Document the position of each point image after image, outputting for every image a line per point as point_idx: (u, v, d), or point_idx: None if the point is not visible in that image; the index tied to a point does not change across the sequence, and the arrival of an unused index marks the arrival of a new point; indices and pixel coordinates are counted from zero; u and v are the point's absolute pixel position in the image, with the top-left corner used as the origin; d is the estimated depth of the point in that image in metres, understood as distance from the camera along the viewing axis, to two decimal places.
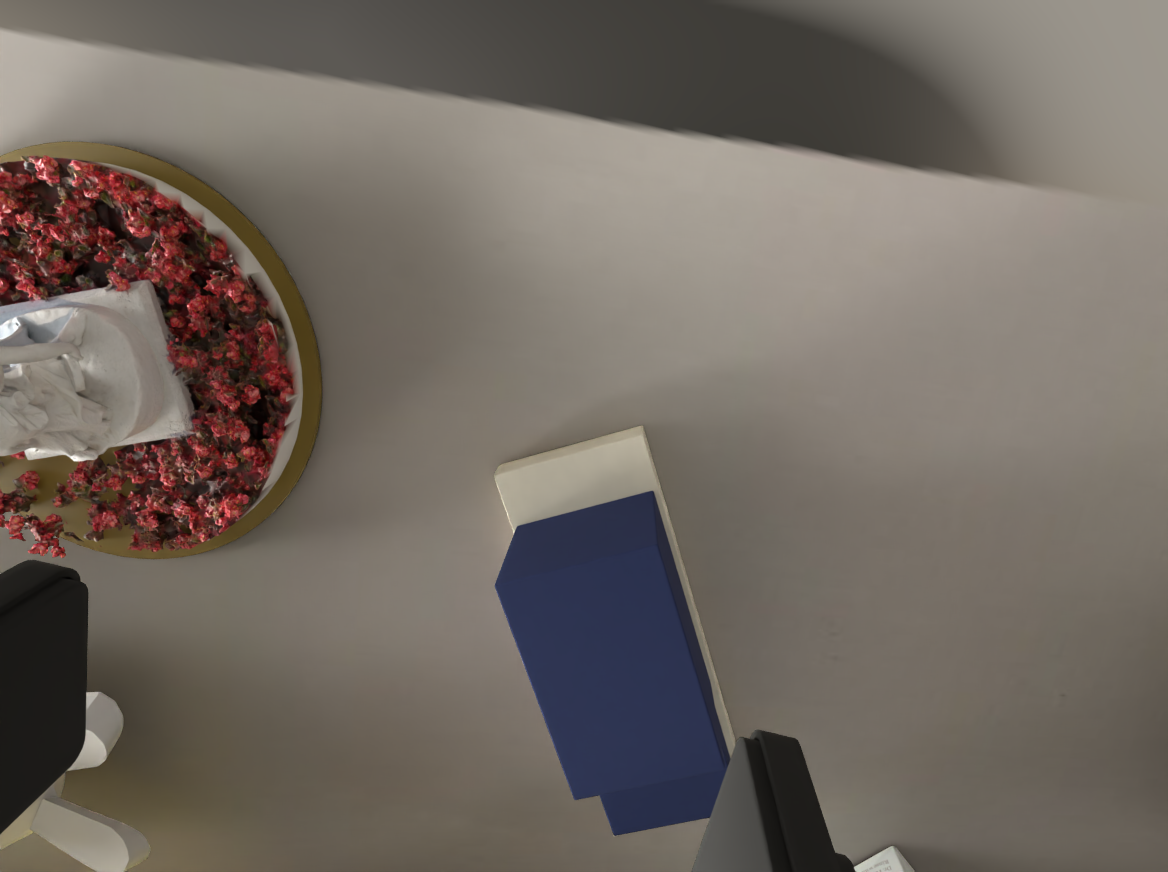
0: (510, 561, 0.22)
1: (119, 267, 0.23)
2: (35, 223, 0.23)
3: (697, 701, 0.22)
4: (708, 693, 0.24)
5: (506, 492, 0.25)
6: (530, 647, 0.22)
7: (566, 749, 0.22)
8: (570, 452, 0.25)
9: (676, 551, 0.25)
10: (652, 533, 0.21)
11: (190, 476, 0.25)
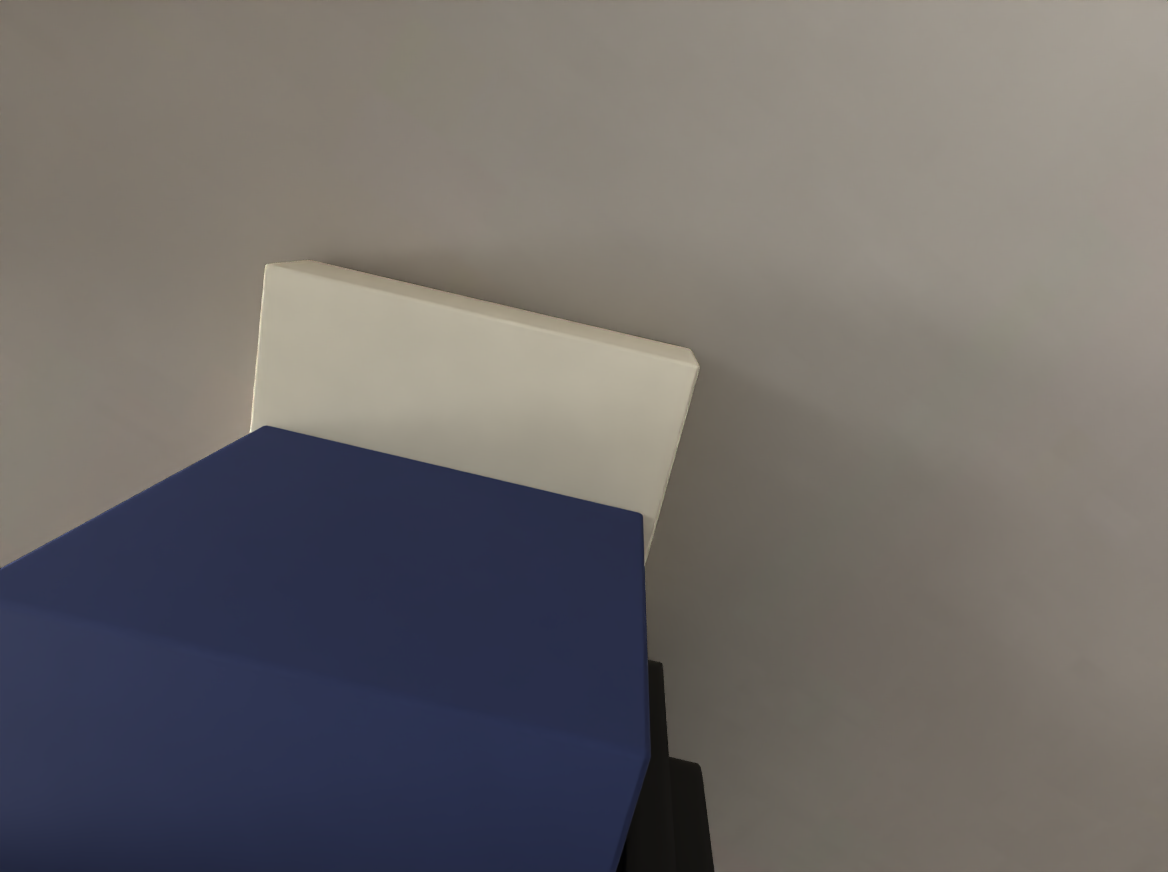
0: (129, 519, 0.06)
1: None
2: None
3: None
4: None
5: (278, 326, 0.09)
6: (12, 852, 0.06)
7: None
8: (494, 314, 0.09)
9: None
10: (632, 678, 0.06)
11: None
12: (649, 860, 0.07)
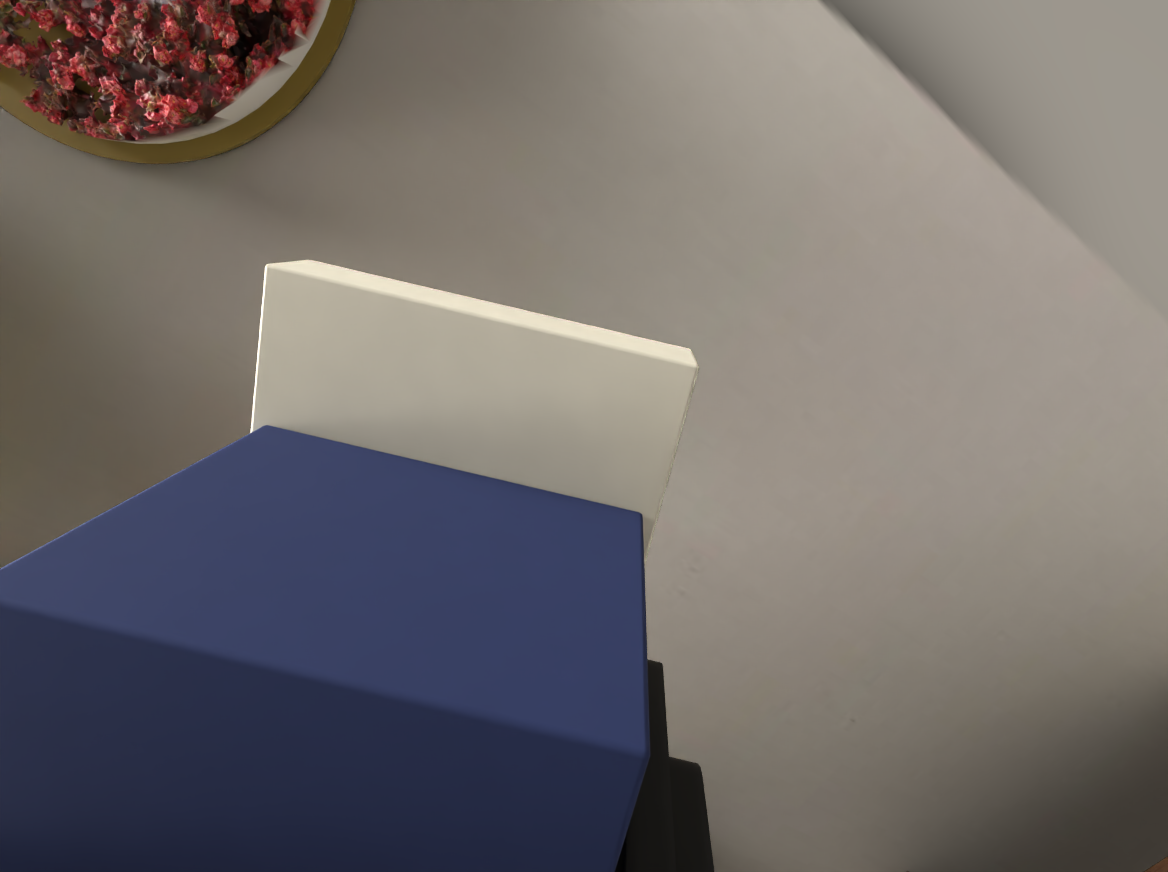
0: (130, 519, 0.06)
1: None
2: None
3: None
4: None
5: (279, 326, 0.09)
6: (14, 850, 0.06)
7: None
8: (495, 315, 0.09)
9: None
10: (632, 676, 0.06)
11: (141, 52, 0.21)
12: (649, 860, 0.07)
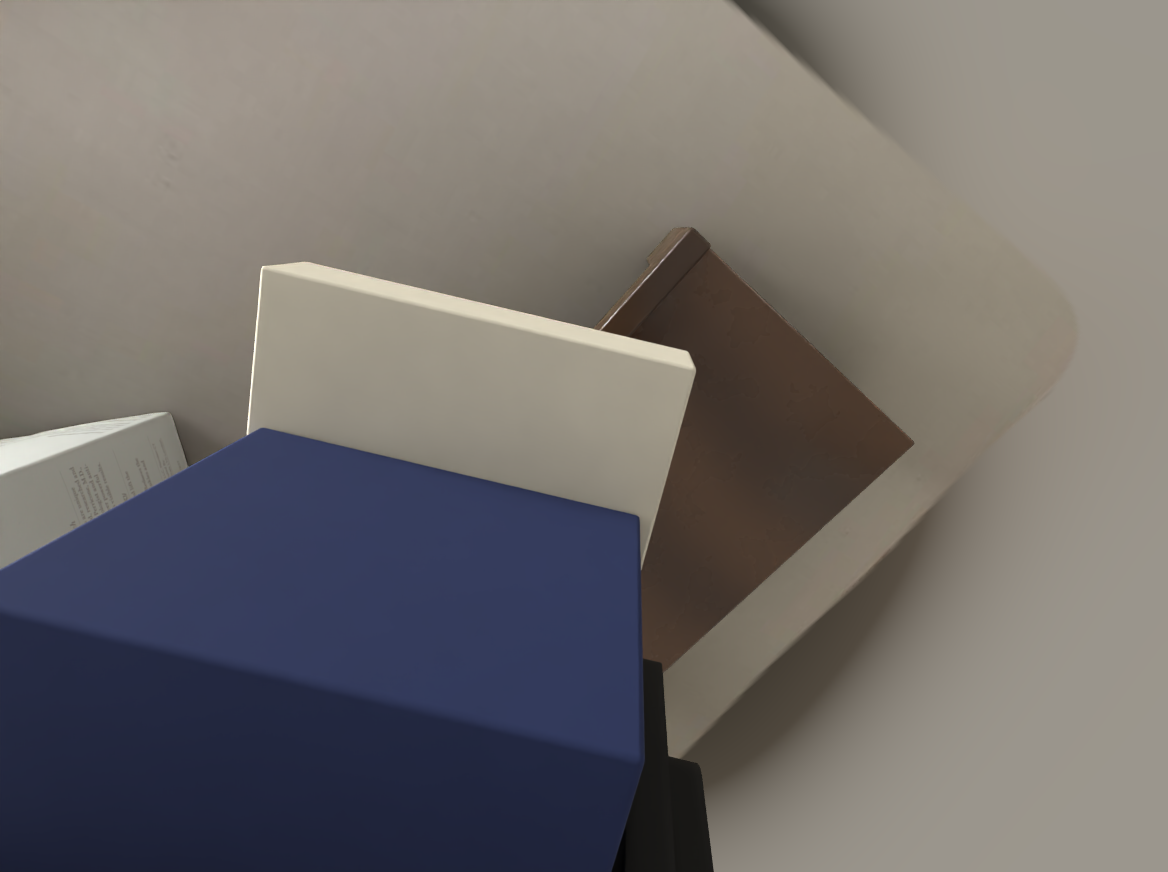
0: (124, 522, 0.06)
1: None
2: None
3: None
4: None
5: (275, 328, 0.09)
6: (6, 856, 0.06)
7: None
8: (490, 316, 0.09)
9: None
10: (627, 682, 0.06)
11: None
12: (648, 859, 0.07)
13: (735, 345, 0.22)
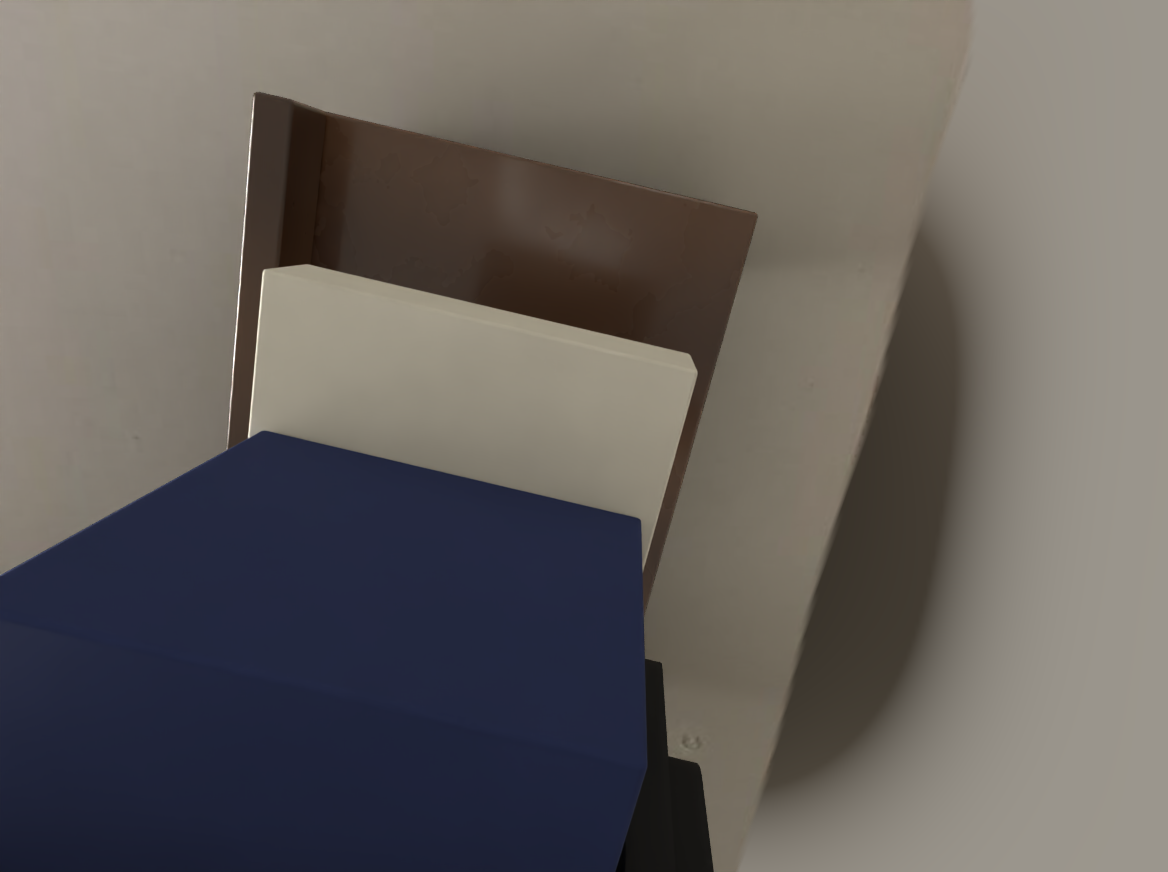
0: (126, 527, 0.06)
1: None
2: None
3: None
4: None
5: (276, 331, 0.09)
6: (8, 861, 0.06)
7: None
8: (492, 319, 0.09)
9: None
10: (630, 687, 0.06)
11: None
12: (648, 860, 0.07)
13: (445, 219, 0.15)
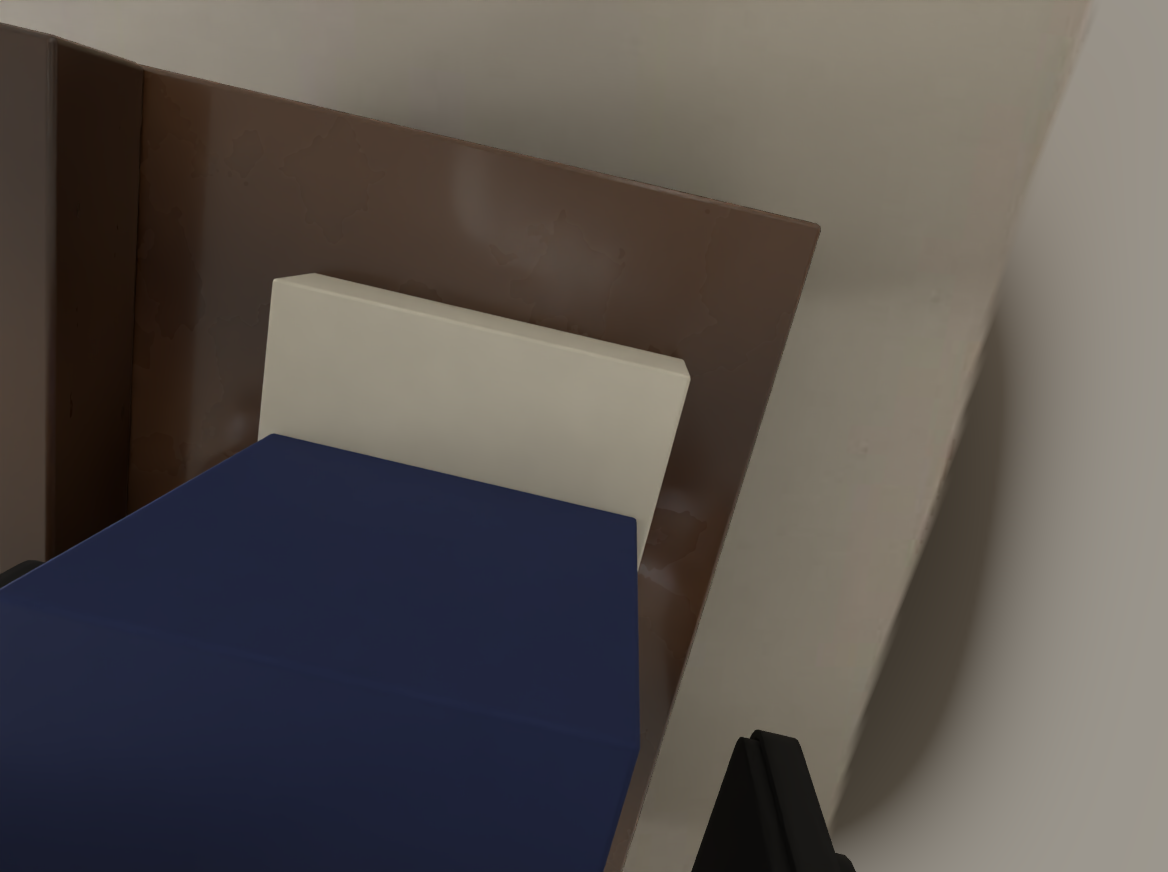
0: (147, 525, 0.07)
1: None
2: None
3: None
4: None
5: (285, 338, 0.09)
6: (38, 840, 0.06)
7: None
8: (493, 326, 0.09)
9: None
10: (623, 675, 0.06)
11: None
12: None
13: (336, 234, 0.10)
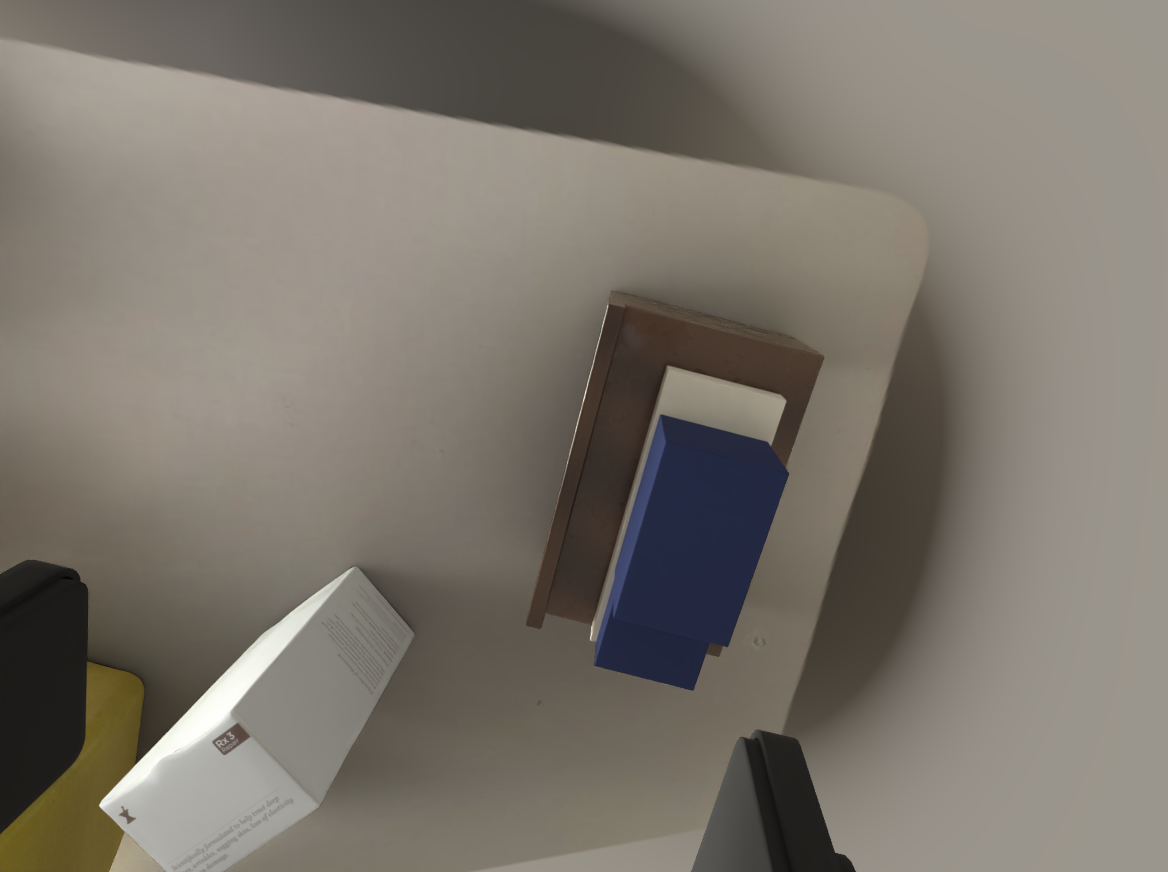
0: (670, 433, 0.29)
1: None
2: None
3: (742, 591, 0.29)
4: None
5: (669, 386, 0.31)
6: (659, 496, 0.28)
7: (633, 579, 0.29)
8: (729, 385, 0.31)
9: None
10: (781, 465, 0.28)
11: None
12: None
13: (676, 354, 0.32)
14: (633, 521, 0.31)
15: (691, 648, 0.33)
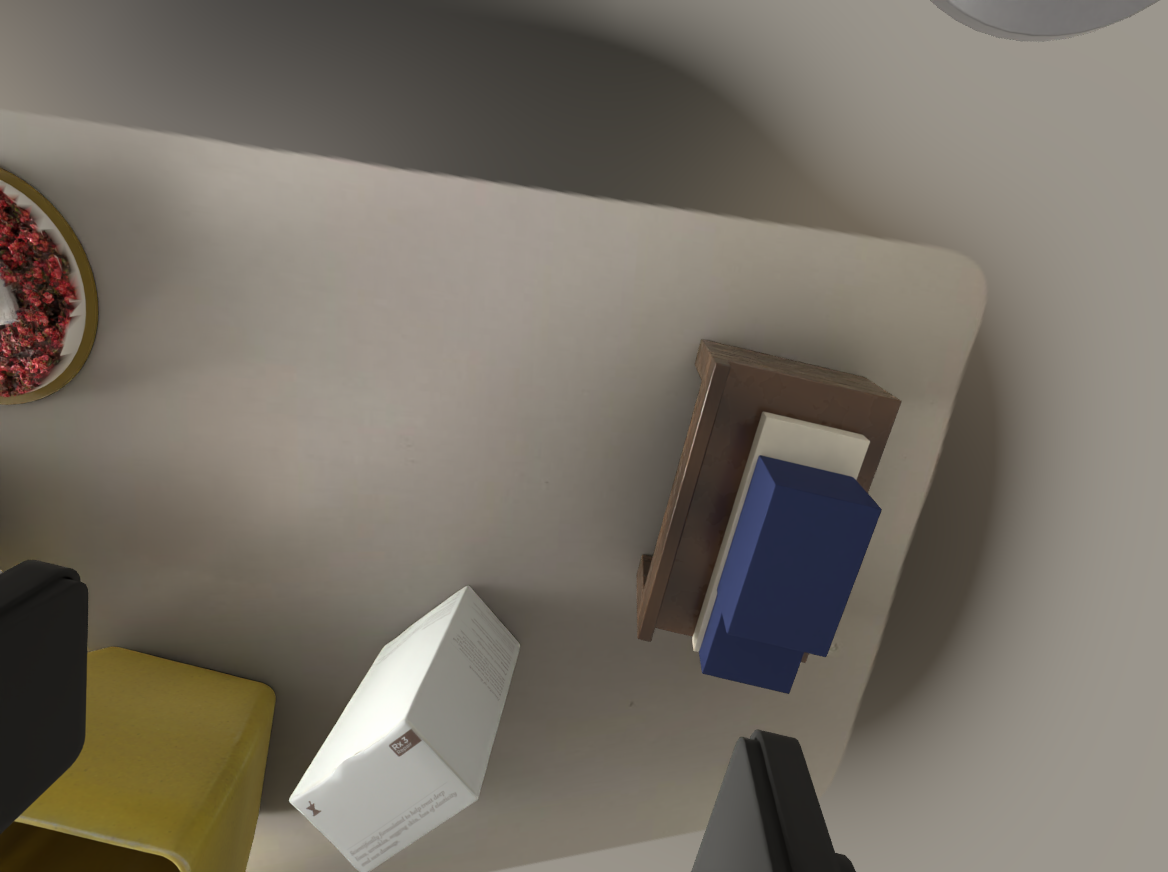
0: (775, 475, 0.34)
1: None
2: None
3: (840, 609, 0.34)
4: None
5: (767, 431, 0.36)
6: (769, 530, 0.33)
7: (745, 601, 0.34)
8: (820, 428, 0.36)
9: None
10: (873, 501, 0.33)
11: (18, 347, 0.43)
12: None
13: (770, 401, 0.37)
14: (738, 549, 0.36)
15: (788, 657, 0.38)
